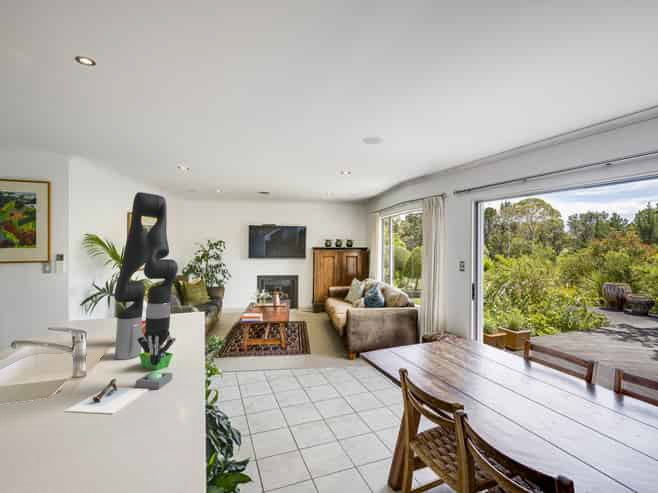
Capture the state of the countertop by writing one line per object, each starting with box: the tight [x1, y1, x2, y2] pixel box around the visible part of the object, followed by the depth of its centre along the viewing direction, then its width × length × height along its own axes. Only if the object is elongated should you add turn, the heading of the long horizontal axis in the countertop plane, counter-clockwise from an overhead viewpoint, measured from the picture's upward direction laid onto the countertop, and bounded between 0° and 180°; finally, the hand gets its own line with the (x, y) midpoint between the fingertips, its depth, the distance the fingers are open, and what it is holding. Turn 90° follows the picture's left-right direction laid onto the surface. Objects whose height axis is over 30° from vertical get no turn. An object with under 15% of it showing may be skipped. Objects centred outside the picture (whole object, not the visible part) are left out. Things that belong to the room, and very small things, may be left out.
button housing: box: [135, 371, 173, 390], centre depth 104 cm, size 8×8×2 cm
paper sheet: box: [64, 386, 150, 415], centre depth 92 cm, size 16×14×1 cm
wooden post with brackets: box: [93, 378, 118, 402], centre depth 93 cm, size 2×8×4 cm, turn 176°
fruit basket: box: [138, 350, 174, 372], centre depth 120 cm, size 11×9×11 cm
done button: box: [147, 371, 163, 380], centre depth 104 cm, size 4×4×3 cm
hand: (155, 364), depth 105 cm, fingers closed
